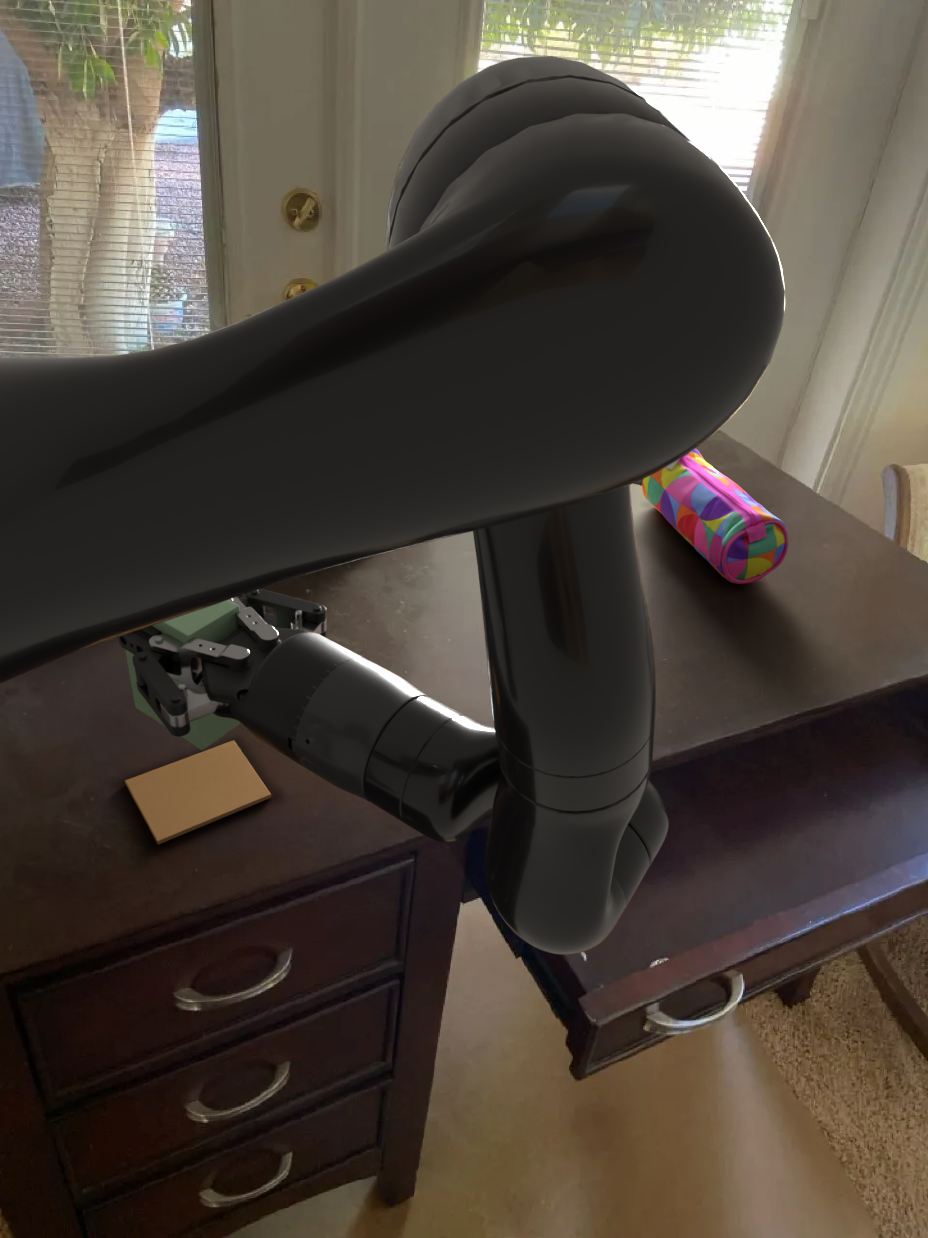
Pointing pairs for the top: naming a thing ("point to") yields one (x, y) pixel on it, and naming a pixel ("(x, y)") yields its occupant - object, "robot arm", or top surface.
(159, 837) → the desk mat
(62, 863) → the top surface
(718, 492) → the pencil case
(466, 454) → the robot arm
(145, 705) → the sage green cuboid
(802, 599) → the top surface
